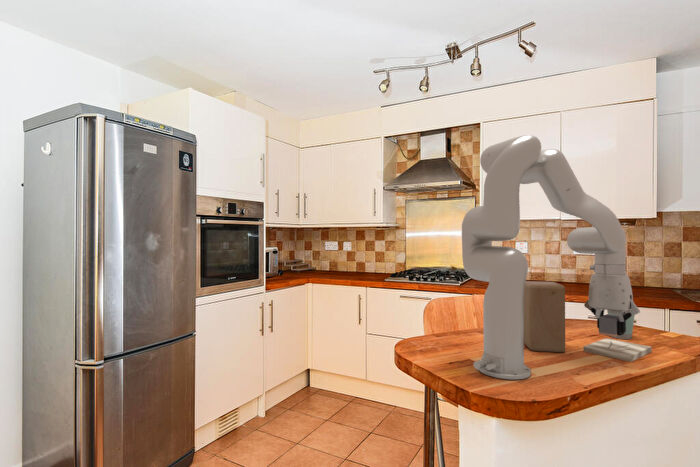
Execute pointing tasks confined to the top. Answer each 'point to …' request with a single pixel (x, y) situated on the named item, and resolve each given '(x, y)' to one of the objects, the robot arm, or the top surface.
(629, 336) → the coffee cup
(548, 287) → the wooden block
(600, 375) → the top surface
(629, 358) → the board
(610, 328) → the block
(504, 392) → the top surface
